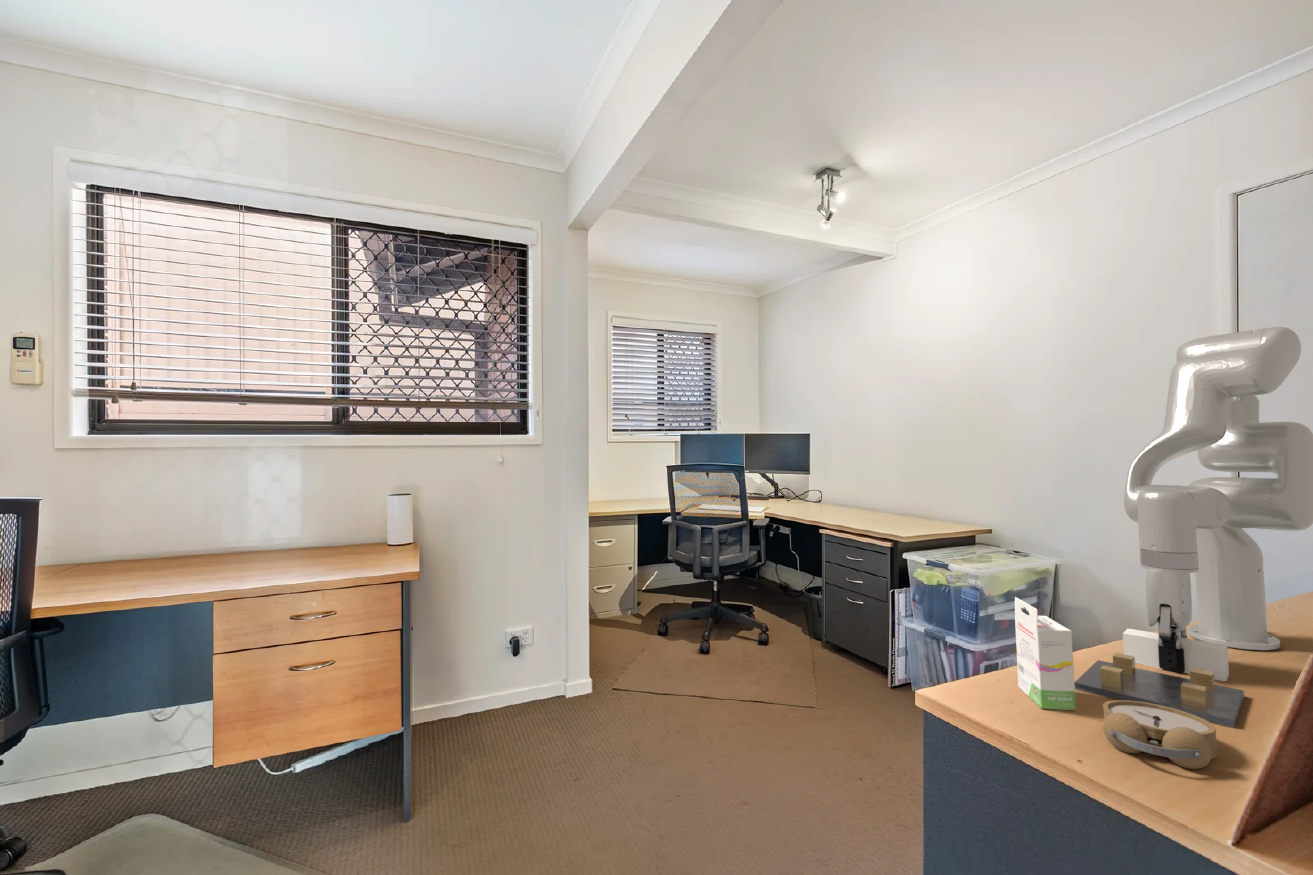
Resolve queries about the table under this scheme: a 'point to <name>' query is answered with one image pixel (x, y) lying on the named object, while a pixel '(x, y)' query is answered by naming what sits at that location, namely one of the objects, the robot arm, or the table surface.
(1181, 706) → the cradle jig
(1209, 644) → the white rectangular block
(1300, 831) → the table surface
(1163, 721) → the alarm clock
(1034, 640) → the ink box
